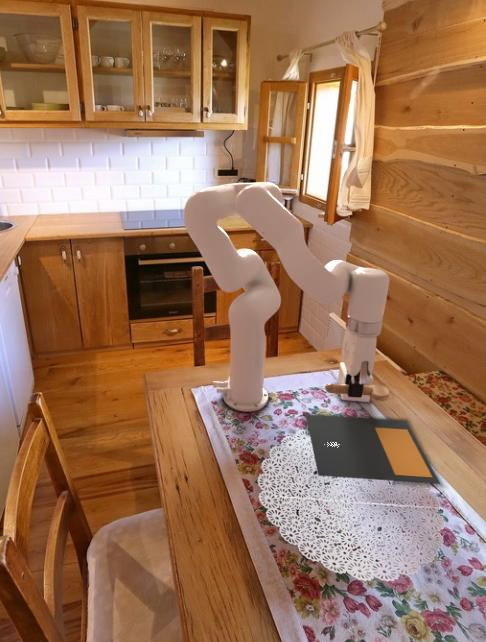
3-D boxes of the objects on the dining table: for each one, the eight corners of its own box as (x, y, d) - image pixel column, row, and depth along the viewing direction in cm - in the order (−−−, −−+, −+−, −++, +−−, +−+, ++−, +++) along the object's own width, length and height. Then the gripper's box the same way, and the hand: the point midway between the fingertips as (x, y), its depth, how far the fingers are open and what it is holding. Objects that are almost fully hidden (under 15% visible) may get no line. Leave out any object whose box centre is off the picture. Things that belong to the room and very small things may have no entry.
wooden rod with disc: (326, 397, 95) (327, 390, 94) (323, 386, 99) (324, 378, 98) (391, 401, 94) (393, 393, 93) (385, 389, 98) (386, 381, 98)
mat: (318, 476, 89) (318, 474, 89) (305, 415, 108) (305, 414, 108) (440, 484, 87) (440, 483, 87) (405, 421, 106) (405, 420, 106)
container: (363, 386, 120) (369, 347, 116) (369, 402, 113) (377, 362, 109) (336, 384, 121) (342, 345, 117) (341, 400, 114) (347, 360, 110)
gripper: (339, 307, 98) (330, 372, 104) (355, 339, 83) (344, 414, 89) (370, 309, 98) (360, 374, 104) (393, 341, 83) (379, 416, 89)
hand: (352, 392), depth 97 cm, fingers closed on wooden rod with disc, 2 cm apart
